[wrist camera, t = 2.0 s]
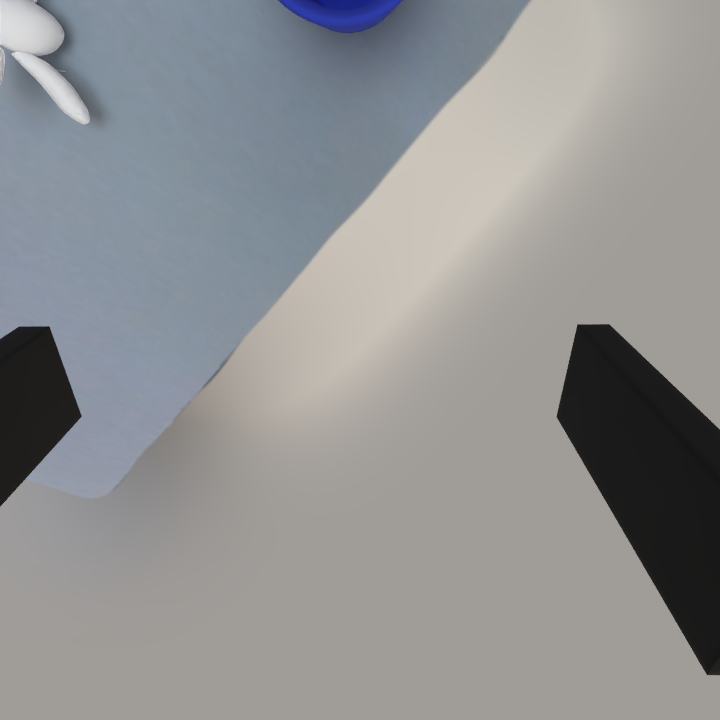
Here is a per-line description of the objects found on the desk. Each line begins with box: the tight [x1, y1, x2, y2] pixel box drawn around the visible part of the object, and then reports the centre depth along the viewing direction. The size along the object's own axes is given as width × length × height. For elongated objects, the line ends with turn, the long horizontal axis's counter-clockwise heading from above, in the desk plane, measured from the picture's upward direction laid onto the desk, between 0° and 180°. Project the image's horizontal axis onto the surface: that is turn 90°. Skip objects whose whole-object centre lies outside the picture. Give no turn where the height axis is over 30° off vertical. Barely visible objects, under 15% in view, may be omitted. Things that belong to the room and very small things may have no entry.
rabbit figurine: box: [0, 0, 90, 125], centre depth 28 cm, size 6×4×8 cm
